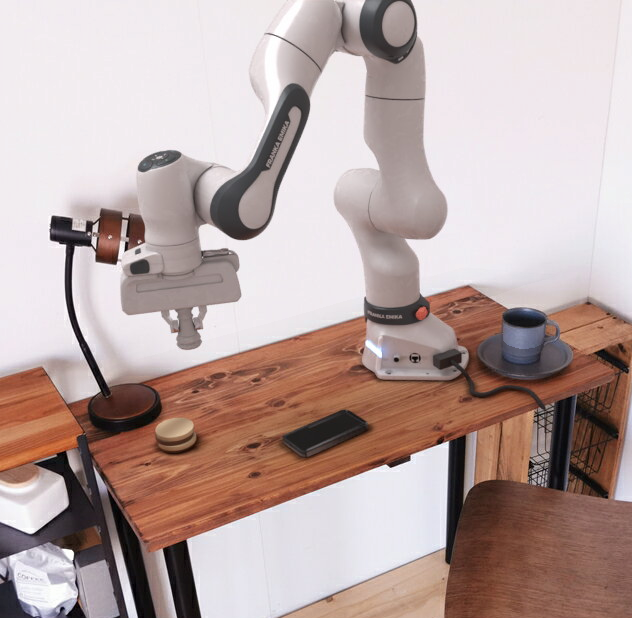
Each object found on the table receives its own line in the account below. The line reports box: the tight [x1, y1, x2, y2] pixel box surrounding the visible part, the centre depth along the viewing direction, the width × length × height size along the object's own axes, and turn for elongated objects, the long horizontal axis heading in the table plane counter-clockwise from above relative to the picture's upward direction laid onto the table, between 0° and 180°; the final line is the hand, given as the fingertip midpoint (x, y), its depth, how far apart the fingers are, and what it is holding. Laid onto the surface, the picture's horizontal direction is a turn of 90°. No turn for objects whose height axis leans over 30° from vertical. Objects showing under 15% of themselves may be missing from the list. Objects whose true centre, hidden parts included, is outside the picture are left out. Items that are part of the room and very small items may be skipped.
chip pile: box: [154, 417, 197, 454], centre depth 168 cm, size 8×8×4 cm
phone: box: [282, 408, 369, 458], centre depth 168 cm, size 8×1×15 cm
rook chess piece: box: [174, 307, 203, 351], centre depth 158 cm, size 4×4×8 cm
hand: (187, 330), depth 158 cm, fingers closed on rook chess piece, 3 cm apart
